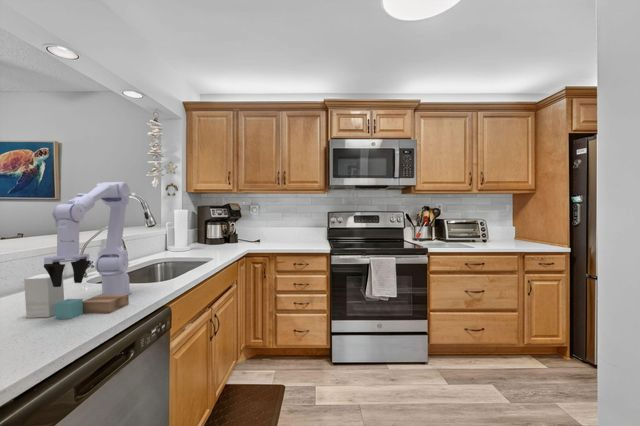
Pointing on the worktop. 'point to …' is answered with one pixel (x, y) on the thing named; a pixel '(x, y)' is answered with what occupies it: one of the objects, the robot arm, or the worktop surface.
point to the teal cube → (68, 308)
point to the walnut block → (105, 303)
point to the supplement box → (41, 296)
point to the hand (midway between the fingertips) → (67, 284)
